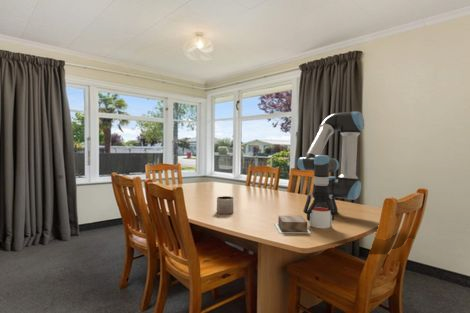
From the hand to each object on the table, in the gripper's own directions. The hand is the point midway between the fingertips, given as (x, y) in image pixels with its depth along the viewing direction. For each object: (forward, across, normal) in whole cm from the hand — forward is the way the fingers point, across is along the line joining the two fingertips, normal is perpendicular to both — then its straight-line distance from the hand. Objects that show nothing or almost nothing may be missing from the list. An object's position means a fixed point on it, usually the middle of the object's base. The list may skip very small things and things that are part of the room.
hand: (320, 226), depth 144 cm
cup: (+1, 0, 0) cm, 1 cm away
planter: (+1, +51, -32) cm, 60 cm away
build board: (+1, +16, +6) cm, 17 cm away
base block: (-1, +16, +6) cm, 17 cm away
